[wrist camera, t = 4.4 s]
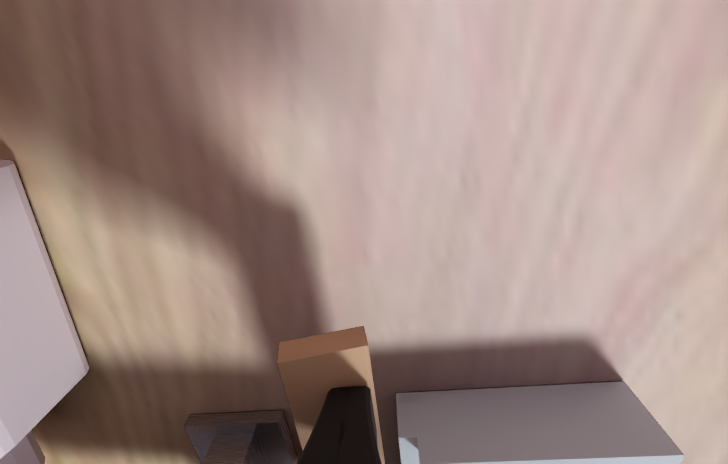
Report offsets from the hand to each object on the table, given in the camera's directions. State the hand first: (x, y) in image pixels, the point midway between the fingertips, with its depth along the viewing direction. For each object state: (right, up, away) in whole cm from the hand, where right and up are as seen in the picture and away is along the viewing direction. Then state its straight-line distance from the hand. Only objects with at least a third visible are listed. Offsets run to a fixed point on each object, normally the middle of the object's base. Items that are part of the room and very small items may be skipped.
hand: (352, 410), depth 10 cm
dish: (+7, -6, +6) cm, 11 cm away
